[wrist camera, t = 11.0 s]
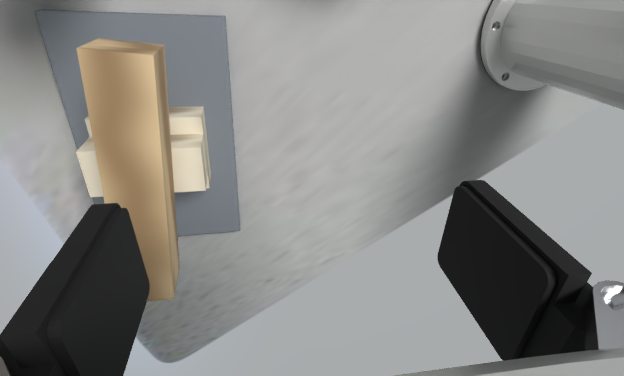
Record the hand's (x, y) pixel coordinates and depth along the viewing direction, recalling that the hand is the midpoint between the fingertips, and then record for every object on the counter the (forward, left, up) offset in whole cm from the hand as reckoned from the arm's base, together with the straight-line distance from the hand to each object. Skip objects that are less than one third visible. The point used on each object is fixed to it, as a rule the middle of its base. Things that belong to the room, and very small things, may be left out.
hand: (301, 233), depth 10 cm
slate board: (+9, +7, -26) cm, 29 cm away
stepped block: (+9, +7, -25) cm, 28 cm away
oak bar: (+9, +8, -19) cm, 22 cm away
